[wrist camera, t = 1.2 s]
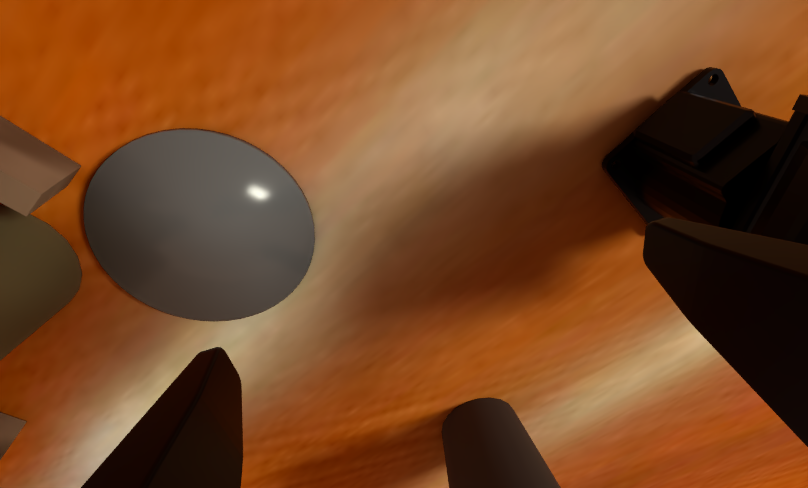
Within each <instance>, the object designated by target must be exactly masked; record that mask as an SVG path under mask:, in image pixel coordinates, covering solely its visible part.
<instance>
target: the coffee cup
mask: <svg viewBox="0 0 808 488" xmlns="http://www.w3.org/2000/svg"><path fill="white" fill-rule="evenodd" d="M442 438H443V445H444V452H445V460H446V467H447V475H448V482H449V488H560V486H559V484H558V483H557V481H556V479H555V478H554V476H553V474H552V473H551V471H550V469H549V468H548V466H547V464H546V463H545V461H544V459H543V458H542V456H541V454H540V453H539V451H538V450H537V448H536V446H535V445H534V443H533V441H532V440H531V438H530V436H529V435H528V433H527V431H526V430H525V428H524V426H523V425H522V423H521V421H520V420H519V418H518V416H517V415H516V413H515V412H514V410H513V409H512V407H511V406H510V405H509V404H508V403H506V402H504V401H502V400H501V399H495V398H480V399H475V400H472V401H469V402H466V403H464V404H462V405H461V406H459V407H457V408H455V409H454V410H453V411H452V412H451V413H450V414H449V415H448V416H447V418H446V419H445V421H444V423H443V426H442Z"/></svg>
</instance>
